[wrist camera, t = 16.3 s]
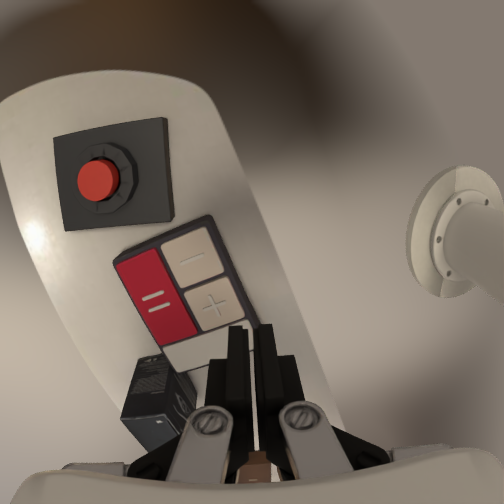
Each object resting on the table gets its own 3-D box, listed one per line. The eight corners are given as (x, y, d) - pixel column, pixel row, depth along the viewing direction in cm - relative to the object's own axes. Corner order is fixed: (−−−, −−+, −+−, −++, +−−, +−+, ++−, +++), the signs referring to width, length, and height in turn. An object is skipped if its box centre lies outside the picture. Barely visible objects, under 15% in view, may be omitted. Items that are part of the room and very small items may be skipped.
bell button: (117, 156, 26) (110, 157, 24) (121, 195, 27) (114, 198, 25) (83, 162, 26) (75, 164, 24) (87, 199, 27) (79, 203, 25)
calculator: (207, 219, 28) (266, 351, 32) (211, 211, 32) (263, 330, 36) (107, 263, 29) (175, 379, 33) (121, 250, 33) (180, 358, 37)
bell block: (167, 118, 28) (158, 115, 24) (174, 216, 32) (167, 226, 28) (62, 137, 28) (43, 138, 24) (73, 226, 31) (56, 236, 27)
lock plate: (269, 449, 45) (271, 464, 42) (269, 478, 49) (270, 490, 46) (186, 452, 45) (184, 467, 42) (196, 481, 48) (196, 493, 45)
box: (137, 357, 37) (116, 418, 27) (177, 350, 37) (164, 414, 27) (162, 399, 40) (150, 459, 30) (199, 393, 40) (194, 456, 30)
